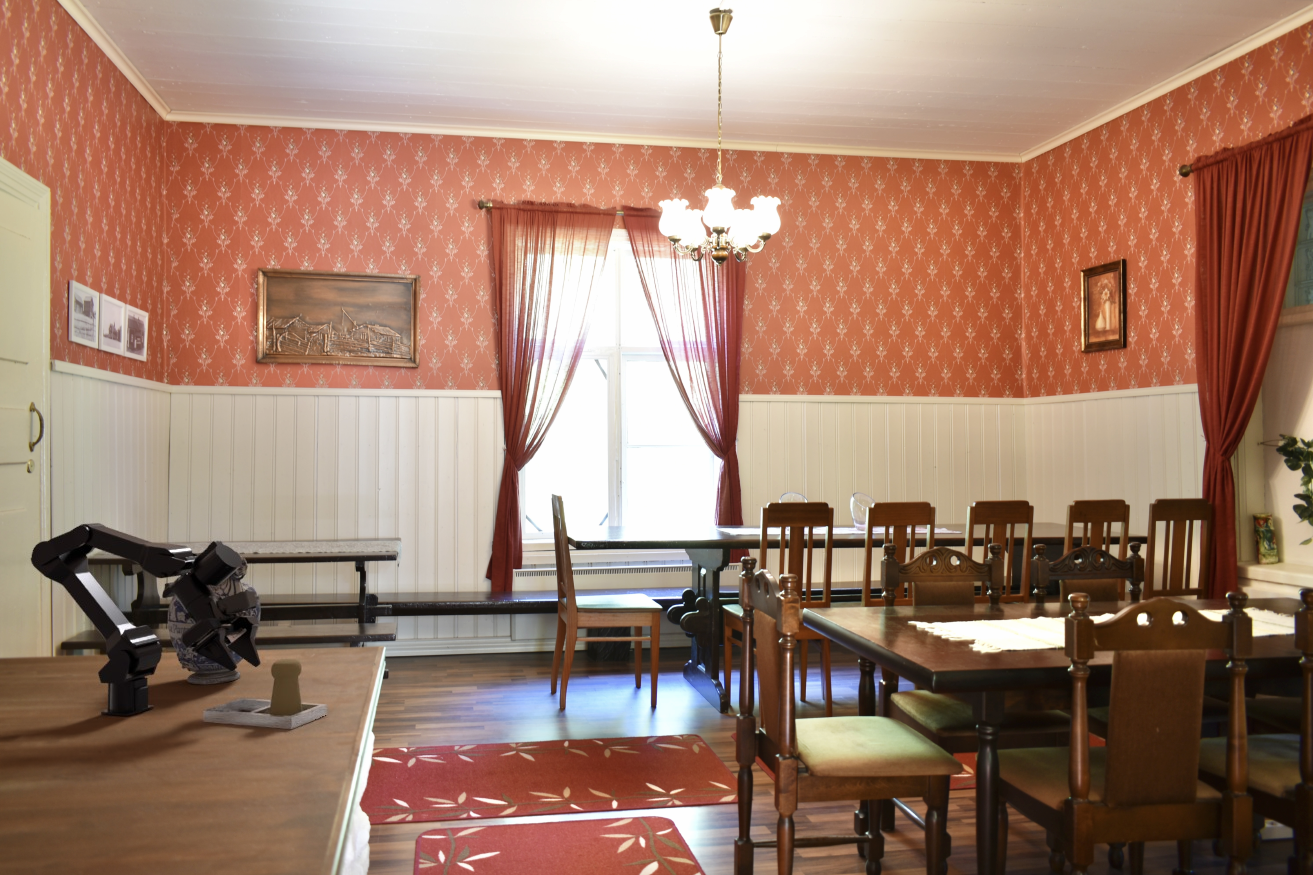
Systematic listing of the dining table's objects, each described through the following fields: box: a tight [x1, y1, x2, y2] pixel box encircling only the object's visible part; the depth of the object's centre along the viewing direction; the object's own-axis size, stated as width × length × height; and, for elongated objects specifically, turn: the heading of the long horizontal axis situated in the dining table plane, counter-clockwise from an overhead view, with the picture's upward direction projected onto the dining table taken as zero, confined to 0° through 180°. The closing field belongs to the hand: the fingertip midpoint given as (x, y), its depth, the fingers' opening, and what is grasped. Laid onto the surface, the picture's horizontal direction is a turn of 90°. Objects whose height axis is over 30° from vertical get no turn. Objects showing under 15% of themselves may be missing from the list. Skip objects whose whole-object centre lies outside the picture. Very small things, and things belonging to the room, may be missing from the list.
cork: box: [269, 658, 303, 716], centre depth 170 cm, size 6×6×11 cm
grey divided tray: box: [202, 697, 328, 730], centre depth 171 cm, size 19×10×2 cm, turn 74°
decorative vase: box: [167, 552, 262, 685], centre depth 206 cm, size 21×19×28 cm
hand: (246, 667), depth 173 cm, fingers open, 9 cm apart
